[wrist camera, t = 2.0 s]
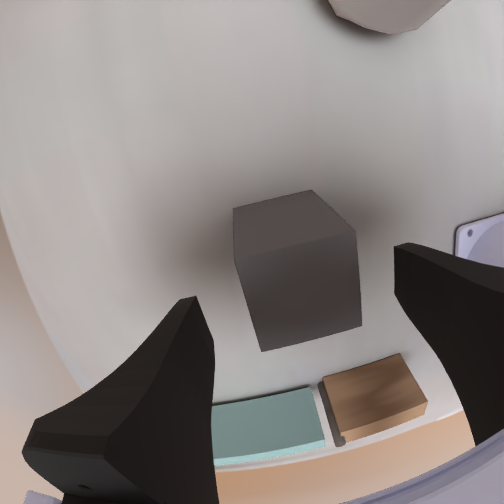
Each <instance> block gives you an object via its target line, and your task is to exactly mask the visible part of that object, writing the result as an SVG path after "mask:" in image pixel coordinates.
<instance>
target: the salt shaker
mask: <svg viewBox="0 0 504 504" xmlns="http://www.w3.org/2000/svg"><path fill="white" fill-rule="evenodd" d="M328 1H329V3H330V5H331V7H332V8H333V10H334V12H335V14H336V16H338V17H341V18H344V19H346V20H349V21H351V22H353V23H356V24H358V25H360V26H362V27H364V28H367V29H371V30H375V31H379V32H382V33H386V34H398V33H402V32H407V31H413V30H417V29H418V28H419V27H420V26H421V25H423V24H424V23H425V22H426V21H427V20H428V19H429V18H431V17H432V16H433V15H434V14H435V13H436V12H438V11H439V10H440V9H441V8H442V7H444V6H445V5H446V4H447V3H448V2H449V1H451V0H328Z"/></svg>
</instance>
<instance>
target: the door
mask: <svg viewBox="0 0 504 504" xmlns="http://www.w3.org/2000/svg"><path fill="white" fill-rule="evenodd" d="M211 431H212V447H213V458H214V466H217V465H227V464H236V463H243V462H251V461H257V460H264V459H269V458H275V457H281V456H286V455H291V454H295V453H300V452H304V451H309V450H313V449H317V448H321V447H325V446H326V444H325V438H324V434H323V430H322V427H321V423H320V419H319V416H318V412H317V408H316V405H315V401H314V397H313V394H312V390H311V387H307V388H303V389H299V390H295V391H291V392H286V393H282V394H277V395H272V396H268V397H263V398H258V399H252V400H247V401H241V402H236V403H229V404H223V405H217V406H212V414H211Z"/></svg>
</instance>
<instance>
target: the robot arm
mask: <svg viewBox="0 0 504 504" xmlns="http://www.w3.org/2000/svg"><path fill="white" fill-rule="evenodd" d="M468 231H469V233H468ZM467 233H468V234H467ZM394 275H395V288H394V294H395V296H396V297H397V299H398V301H399V303H400V305H401V306H402V308H403V310H404V312H405V313H406V315H407V316H408V317H409V319H410V320H411V321H412V323H413V324H414V325H415V327H416V328H417V329H418V331H419V332H420V333H421V335H422V336H423V337H424V339H425V340H426V341H427V343H428V344H429V345H430V347H431V348H432V349H433V351H434V352H435V353H436V355H437V356H438V358H439V359H440V361H441V363H442V364H443V366H444V368H445V370H446V372H447V374H448V376H449V378H450V379H451V381H452V384H453V386H454V388H455V390H456V392H457V394H458V397H459V399H460V401H461V404H462V406H463V409H464V411H465V414H466V417H467V419H468V422H469V425H470V428H471V432H472V435H473V438H474V442H475V445H476V447H474V448H472V449H470V450H469V451H467V452H465V453H464V454H462V455H460V456H458V457H456V458H454V459H452V460H450V461H449V462H447V463H445V464H443V465H441V466H439V467H437V468H434V469H432V470H430V471H428V472H426V473H424V474H421V475H419V476H417V477H415V478H412V479H410V480H408V481H405V482H403V483H400V484H398V485H395V486H393V487H390V488H387V489H384V490H382V491H379V492H376V493H373V494H370V495H367V496H364V497H361V498H357V499H354V500H351V501H348V502H344V503H340V504H504V213H503V214H499V215H496V216H493V217H489V218H486V219H483V220H479V221H476V222H473V223H469V224H466V225H462V226H460V227H459V228H458V230H457V233H456V248H455V256H454V255H451V254H448V253H445V252H442V251H439V250H435V249H432V248H429V247H425V246H422V245H418V244H414V243H404V244H401V245H397V246H394ZM214 373H215V353H214V340H213V338H212V335H211V333H210V330H209V328H208V325H207V323H206V320H205V318H204V315H203V312H202V310H201V307H200V305H199V302H198V299H197V297H196V296H193V297H189V298H185V299H180V300H179V301H178V302H177V303H176V304H175V305H174V306H173V308H172V309H171V310H170V311H169V312H168V314H167V315H166V316H165V317H164V319H163V320H162V321H161V322H160V323H159V325H158V326H157V327H156V328H155V330H154V331H153V332H152V333H151V334H150V335H149V337H148V338H147V339H146V340H145V341H144V342H143V343H142V344H141V345H140V346H139V348H138V349H137V350H136V351H135V352H134V353H133V354H132V355H131V356H130V357H129V358H128V359H127V360H126V361H125V362H124V363H123V364H121V365H120V366H119V367H118V368H117V369H116V370H115V371H114V372H112V373H111V374H110V375H109V376H107V377H106V378H105V379H103V380H102V381H101V382H99V383H98V384H97V385H95V386H94V387H93V388H91V389H90V390H89V391H87V392H85V393H84V394H82V395H81V396H80V397H78V398H76V399H74V400H73V401H71V402H69V403H68V404H66V405H64V406H62V407H60V408H58V409H56V410H54V411H52V412H50V413H48V414H46V415H44V416H42V417H40V418H37V419H35V421H34V423H33V426H32V428H31V430H30V433H29V435H28V437H27V440H26V442H25V445H24V447H23V450H22V454H23V457H24V459H25V461H26V462H27V463H28V465H29V466H30V467H31V468H32V469H33V470H34V471H35V472H37V473H38V474H39V475H40V476H42V477H43V478H44V479H45V480H47V481H48V482H49V483H51V484H52V485H53V486H55V487H56V488H57V489H59V490H60V491H62V492H63V493H64V497H63V500H62V501H61V500H59V499H57V498H54V497H51V496H48V495H44V494H41V493H37V492H34V491H31V490H29V491H27V494H26V497H25V501H24V504H219V499H218V493H217V486H216V478H215V469H214V458H213V447H212V431H211V414H212V400H213V387H214Z"/></svg>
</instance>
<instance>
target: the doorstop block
mask: <svg viewBox="0 0 504 504" xmlns="http://www.w3.org/2000/svg"><path fill="white" fill-rule="evenodd" d="M233 237H234V261H235V265H236V268H237V272H238V275H239V279H240V282H241V285H242V289H243V292H244V296H245V299H246V302H247V306H248V309H249V313H250V316H251V319H252V323H253V326H254V329H255V333H256V336H257V339H258V343H259V346H260V349H261V352H264V351H269V350H273V349H277V348H282V347H286V346H290V345H294V344H298V343H302V342H306V341H310V340H314V339H318V338H321V337H325V336H329V335H332V334H336V333H340V332H343V331H347V330H350V329H353V328H357V327H360V326H362V311H361V292H360V277H359V265H358V253H357V243H356V233H355V230H354V229H353V228H352V227H351V226H350V225H349V224H348V223H347V222H346V221H345V220H344V219H343V218H342V217H341V216H340V215H339V214H337V213H336V212H335V211H334V210H333V209H332V208H331V207H330V206H329V205H328V204H327V203H326V202H324V201H323V200H322V199H321V198H320V197H319V196H318V195H317V194H316V193H314V192H313V191H312V190H309V191H304V192H300V193H295V194H291V195H287V196H282V197H278V198H274V199H270V200H265V201H261V202H257V203H253V204H249V205H245V206H241V207H237V208H233Z"/></svg>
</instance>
